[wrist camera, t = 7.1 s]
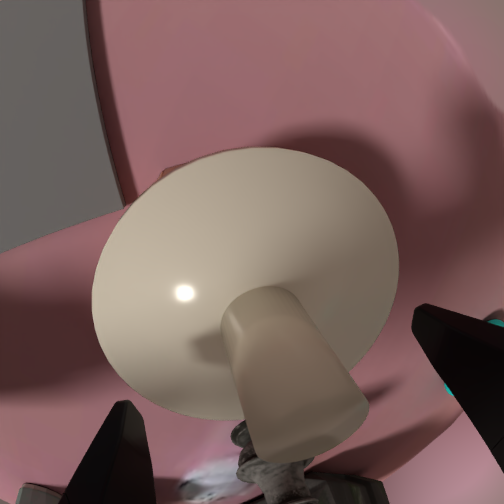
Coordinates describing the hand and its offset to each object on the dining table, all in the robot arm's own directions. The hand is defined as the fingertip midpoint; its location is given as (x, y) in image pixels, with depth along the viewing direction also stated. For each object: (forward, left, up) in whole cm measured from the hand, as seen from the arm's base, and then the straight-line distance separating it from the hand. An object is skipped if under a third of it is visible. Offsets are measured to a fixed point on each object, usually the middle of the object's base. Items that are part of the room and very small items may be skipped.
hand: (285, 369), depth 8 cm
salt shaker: (-1, -15, -7) cm, 17 cm away
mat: (-10, +10, -7) cm, 16 cm away
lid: (0, 0, -3) cm, 3 cm away
